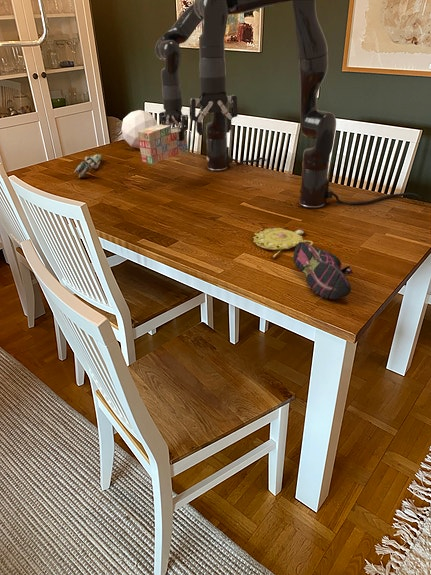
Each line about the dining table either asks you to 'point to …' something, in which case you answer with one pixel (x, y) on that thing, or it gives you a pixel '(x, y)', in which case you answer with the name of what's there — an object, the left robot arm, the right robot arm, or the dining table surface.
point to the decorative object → (279, 239)
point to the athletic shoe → (322, 271)
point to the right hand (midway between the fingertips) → (214, 133)
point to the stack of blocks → (160, 143)
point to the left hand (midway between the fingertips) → (175, 139)
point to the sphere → (136, 126)
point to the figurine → (88, 164)
